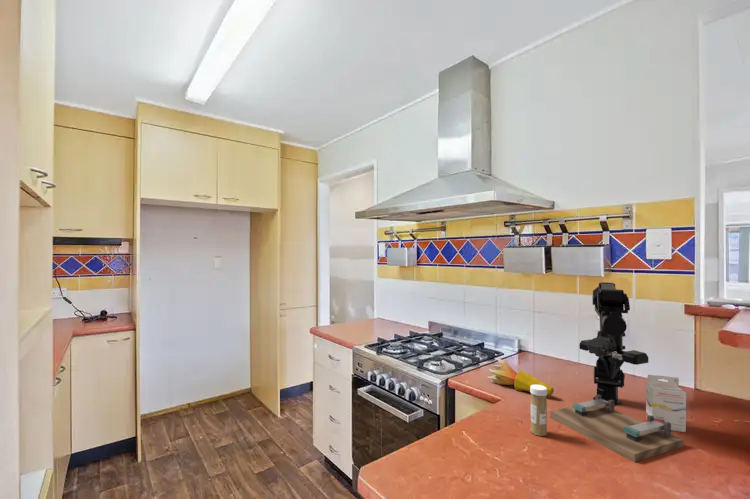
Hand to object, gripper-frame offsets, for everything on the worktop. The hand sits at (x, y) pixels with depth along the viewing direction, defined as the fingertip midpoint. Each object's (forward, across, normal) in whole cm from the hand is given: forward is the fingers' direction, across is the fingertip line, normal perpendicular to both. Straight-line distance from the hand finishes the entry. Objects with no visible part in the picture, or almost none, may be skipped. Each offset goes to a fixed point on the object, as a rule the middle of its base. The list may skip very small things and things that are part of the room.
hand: (611, 378), depth 114 cm
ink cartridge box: (+13, +9, +11) cm, 19 cm away
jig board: (+13, +5, -7) cm, 16 cm away
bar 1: (+10, -3, -5) cm, 11 cm away
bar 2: (+10, +13, -5) cm, 17 cm away
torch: (+13, -30, -10) cm, 34 cm away
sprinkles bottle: (+13, -2, -28) cm, 31 cm away
